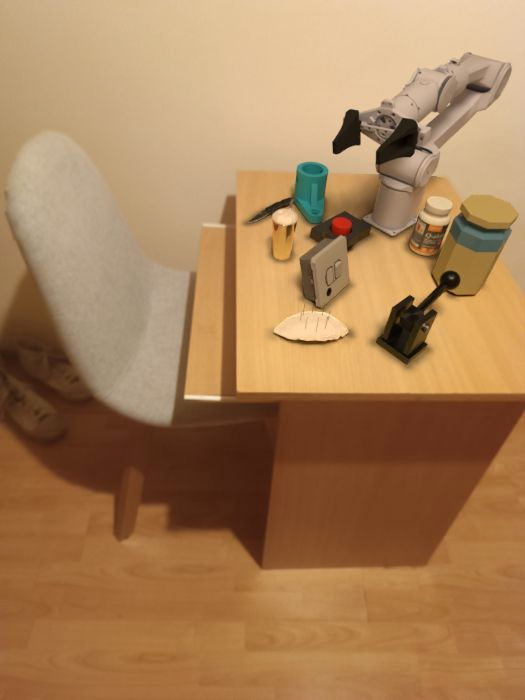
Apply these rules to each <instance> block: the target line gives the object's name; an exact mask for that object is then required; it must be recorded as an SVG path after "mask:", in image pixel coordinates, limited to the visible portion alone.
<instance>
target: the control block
mask: <svg viewBox="0 0 525 700" xmlns="http://www.w3.org/2000/svg"><path fill="white" fill-rule="evenodd" d="M338 217H343V218H347V219H349V220H350V221H351V223H352V225H351V230H350V233H349V234H348V235H342V236H344V237H346V242H347V249H348V248H349V247H351V246H353V245H355V244H357V243H358V242H360V241H362V240H363V239H365V238H367V237H368V236H370V234H371V229H372V225H371V224H369V223H367V222H365V221H364V220H363V219H360V218H358V217H356V216H355V215H353V214H351V212H350V213H349V212H348V211H346V210H343V211H342V212H340V213H338V214H335V215H334V216H331V217H330V218H328V219H326V220H324V221H321V222H320V223H317V224H316V225H314V226H313V227H311V228H310V235H309V238H310V239H312V240H314V241H315V242H316V243H317V244H318V243H319V242H321V241H322V240H323V239H324V238H327V239H336V238H338V237H339V236H340V235H336V234H334V233H333V232H332V231H331V226H332V221H333V219H335V218H338Z"/></svg>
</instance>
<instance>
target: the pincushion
mask: <svg viewBox="0 0 525 700" xmlns="http://www.w3.org/2000/svg"><path fill="white" fill-rule="evenodd" d="M314 300H315V298H314ZM312 304H313V305H312V307H314V306H315V303H312ZM324 305H325V303H324ZM325 306H326V305H325ZM305 307H306V304H303V308H305ZM324 310H325V307H323V308H322V311H314V309H312V310H309V311H308V310H307V311H305V310H303V311H300V312H297V313H294V314H292V315H289V316H287V317H286V318H284V319H283V320H282V321H281V322H280V323H279V324H278V325H276V326H275V328H274V329H273V334H276V335H279V336H281V337H283V338H285V339H288V340H293V341H297V340H300V341H305V342H309V341H312V342H315V341H316V342H327V341H328V340H329V341H333V340H336V341H337V340H338V339H340V337H345V336H346V335H348V333H350V332H349V329H348V327H347V325H346V324H345V323H344V322H341V320H339V319H338V318H337V317H335V316H333V315H332V314H331V312H329V313H328V312H324Z"/></svg>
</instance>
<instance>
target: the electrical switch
mask: <svg viewBox="0 0 525 700" xmlns="http://www.w3.org/2000/svg"><path fill="white" fill-rule="evenodd" d="M298 261H299V266H300V273H301V279H302V287H303V294H304V298H305V299H307V300H309V301H312V302H314V303H315V307H316V308H321V309H323V308H325V306H327V304H328V303H329V302H330V301H332V299H334V298H335V297H336V296H337V295H338V294H339V293H340V292H341V291H343V290H344V289H345V288H346V287H347V286H348V285H349V282H350V271H349V270H350V268H349V257H348V248H347V242H346V237H344V236H341V235H340V236H339V237H338V238H336V239H327V238H324V239H323V240H322V241H321V242H319V243H318V242H317V244H316V245H314V246H313V247H312V248H310V249H309V250H308V251H306V252H305V253H304V254H303V255H301V256H300V257H299V260H298ZM314 298H315V300H314ZM324 303H325V305H324Z"/></svg>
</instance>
